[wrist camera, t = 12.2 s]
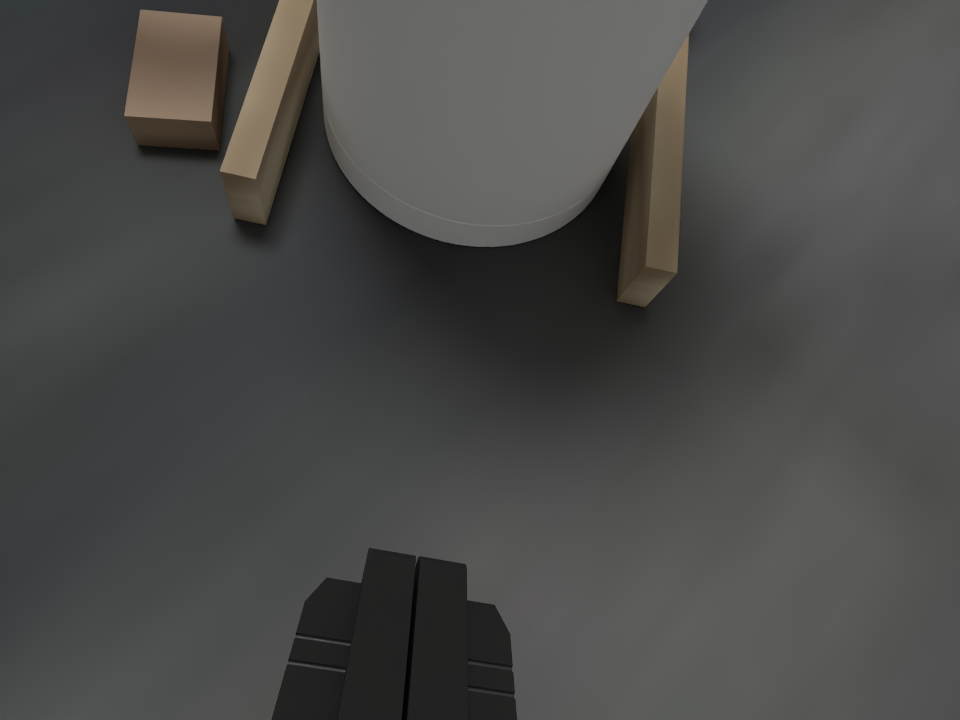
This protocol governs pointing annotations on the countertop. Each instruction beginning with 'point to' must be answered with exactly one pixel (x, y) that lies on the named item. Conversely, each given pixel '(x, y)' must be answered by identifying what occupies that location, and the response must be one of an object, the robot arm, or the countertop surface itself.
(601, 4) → the cylinder
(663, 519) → the countertop surface
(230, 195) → the cradle
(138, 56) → the brown block piece
